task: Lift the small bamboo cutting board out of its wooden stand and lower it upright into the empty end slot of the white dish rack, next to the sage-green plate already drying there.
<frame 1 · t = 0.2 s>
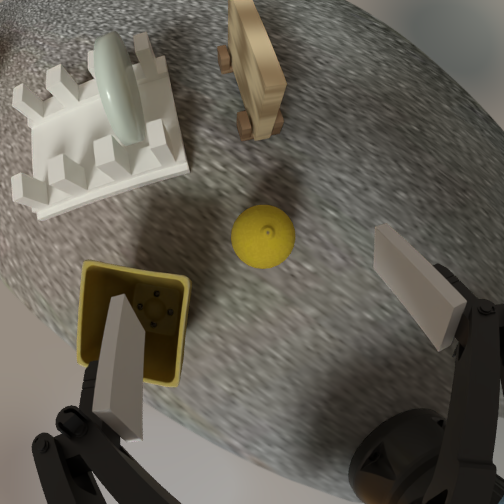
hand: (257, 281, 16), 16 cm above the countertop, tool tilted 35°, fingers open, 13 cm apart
lemon: (258, 240, 32), on the countertop
sage plate: (141, 121, 32), resting on dish rack
flower pot: (154, 308, 31), on the countertop
bamboo board: (247, 92, 32), point 1 cm above the countertop, touching board stand
dish rack: (100, 135, 31), on the countertop
board stand: (247, 94, 33), on the countertop
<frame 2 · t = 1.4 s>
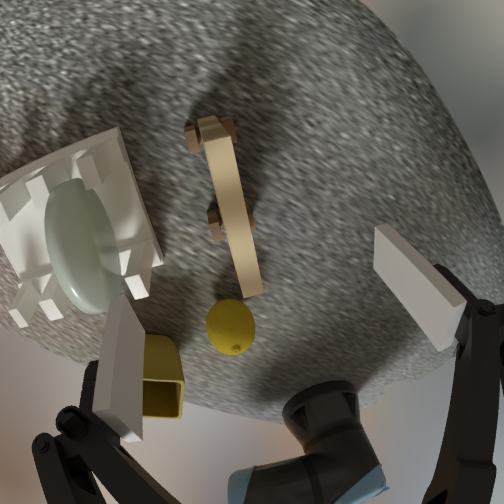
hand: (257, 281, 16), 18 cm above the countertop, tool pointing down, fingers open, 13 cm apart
lemon: (225, 302, 40), on the countertop
sage plate: (105, 207, 30), resting on dish rack
flower pot: (147, 344, 41), on the countertop
bamboo board: (219, 176, 30), point 1 cm above the countertop, touching board stand
dish rack: (65, 221, 30), on the countertop
board stand: (219, 174, 31), on the countertop
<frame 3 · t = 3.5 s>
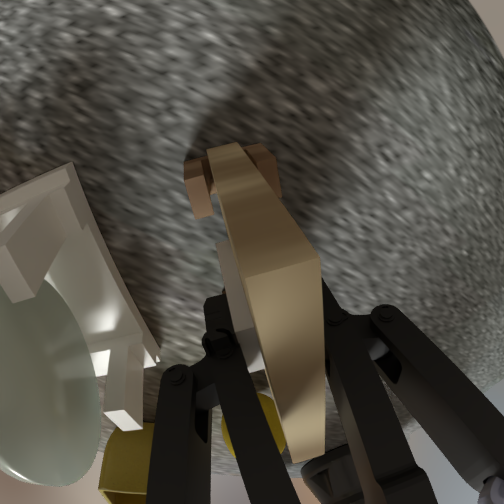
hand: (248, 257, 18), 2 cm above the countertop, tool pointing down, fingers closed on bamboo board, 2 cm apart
lemon: (245, 390, 28), on the countertop
sage plate: (67, 286, 19), resting on dish rack
flower pot: (145, 429, 30), on the countertop
bamboo board: (244, 243, 19), point 1 cm above the countertop, touching board stand, gripper
dish rack: (16, 301, 18), on the countertop
board stand: (242, 238, 19), on the countertop
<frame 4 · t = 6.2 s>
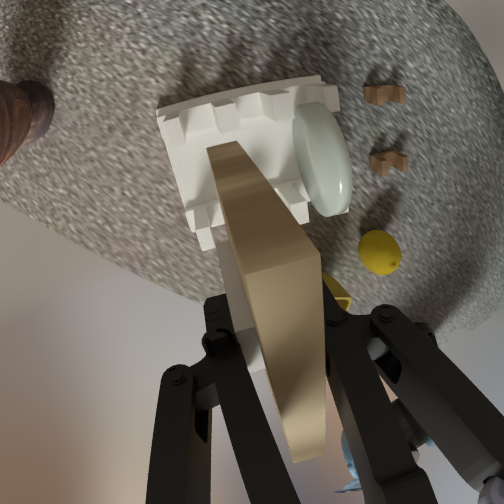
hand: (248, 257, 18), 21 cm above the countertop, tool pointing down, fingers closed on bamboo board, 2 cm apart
lemon: (364, 236, 45), on the countertop
sage plate: (293, 141, 36), resting on dish rack
flower pot: (291, 281, 47), on the countertop
bamboo board: (244, 242, 19), point 19 cm above the countertop, touching gripper
dish rack: (251, 150, 35), on the countertop
mortar and pestle: (17, 108, 26), on the countertop
board stand: (380, 126, 36), on the countertop
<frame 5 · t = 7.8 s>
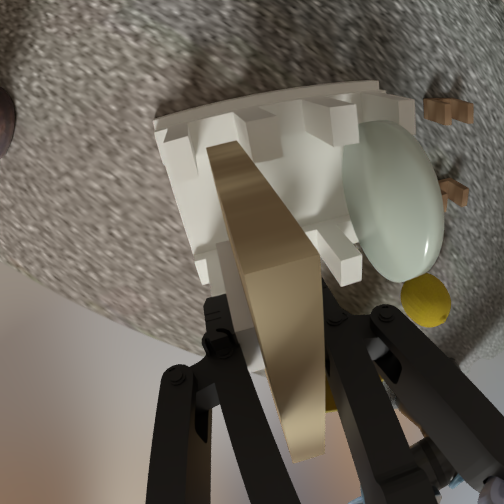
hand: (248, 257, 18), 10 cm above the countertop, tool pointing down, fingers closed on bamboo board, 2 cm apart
lemon: (406, 278, 36), on the countertop
sage plate: (338, 167, 27), resting on dish rack
bamboo board: (243, 242, 19), point 9 cm above the countertop, touching gripper
dish rack: (284, 178, 27), on the countertop
board stand: (438, 149, 28), on the countertop
when the fingers open (5 cm above the countertop, at t = 8.9 s): bamboo board drops 1 cm, resting on dish rack.
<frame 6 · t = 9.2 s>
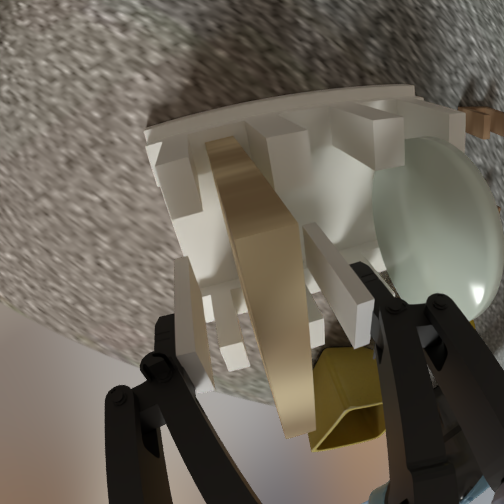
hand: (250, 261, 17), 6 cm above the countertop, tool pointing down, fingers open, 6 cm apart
sage plate: (365, 185, 23), resting on dish rack
flower pot: (333, 359, 34), on the countertop
bamboo board: (240, 231, 20), point 2 cm above the countertop, touching dish rack
dish rack: (303, 199, 22), on the countertop
board stand: (470, 164, 24), on the countertop
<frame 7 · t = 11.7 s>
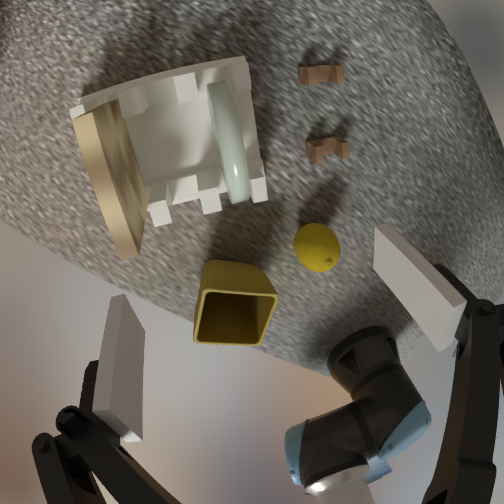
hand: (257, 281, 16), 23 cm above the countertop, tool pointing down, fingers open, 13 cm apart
lemon: (305, 230, 43), on the countertop
sage plate: (217, 126, 33), resting on dish rack
flower pot: (224, 274, 45), on the countertop
bamboo board: (127, 153, 31), point 2 cm above the countertop, touching dish rack
dish rack: (173, 136, 33), on the countertop
board stand: (319, 110, 34), on the countertop
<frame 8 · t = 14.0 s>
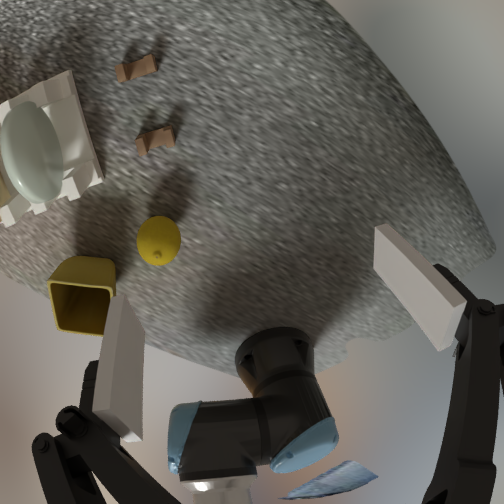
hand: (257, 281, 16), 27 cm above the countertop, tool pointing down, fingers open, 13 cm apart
lemon: (160, 224, 42), on the countertop
sage plate: (59, 136, 33), resting on dish rack
flower pot: (94, 270, 44), on the countertop
dish rack: (28, 150, 32), on the countertop
board stand: (147, 103, 33), on the countertop
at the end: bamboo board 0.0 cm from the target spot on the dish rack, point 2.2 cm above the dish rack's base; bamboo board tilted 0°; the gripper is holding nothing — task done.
